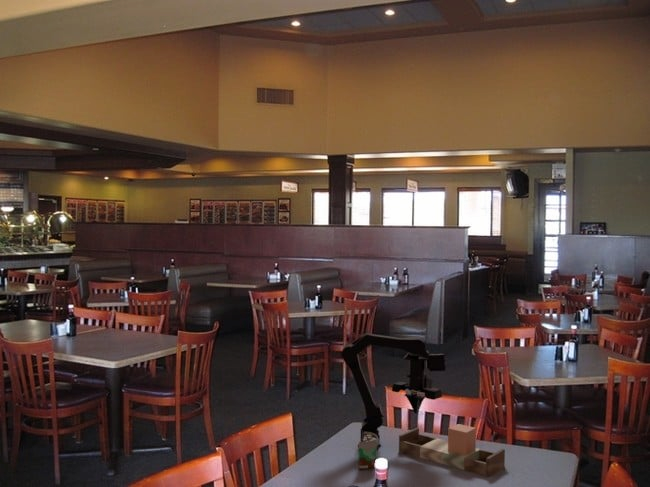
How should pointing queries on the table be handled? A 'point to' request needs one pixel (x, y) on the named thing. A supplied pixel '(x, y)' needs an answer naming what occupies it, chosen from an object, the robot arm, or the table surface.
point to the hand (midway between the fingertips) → (416, 413)
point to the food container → (368, 451)
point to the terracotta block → (461, 439)
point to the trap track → (450, 454)
